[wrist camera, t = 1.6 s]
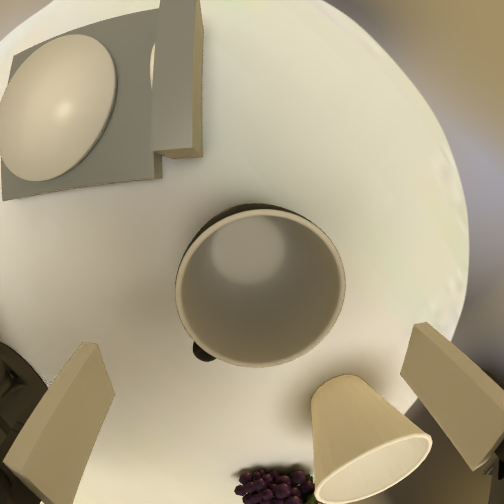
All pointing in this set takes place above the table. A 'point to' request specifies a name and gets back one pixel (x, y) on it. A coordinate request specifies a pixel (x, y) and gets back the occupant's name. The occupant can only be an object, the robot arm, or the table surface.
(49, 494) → the robot arm
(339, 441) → the cup
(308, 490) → the fruit
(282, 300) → the mug
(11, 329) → the table surface
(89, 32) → the scale
